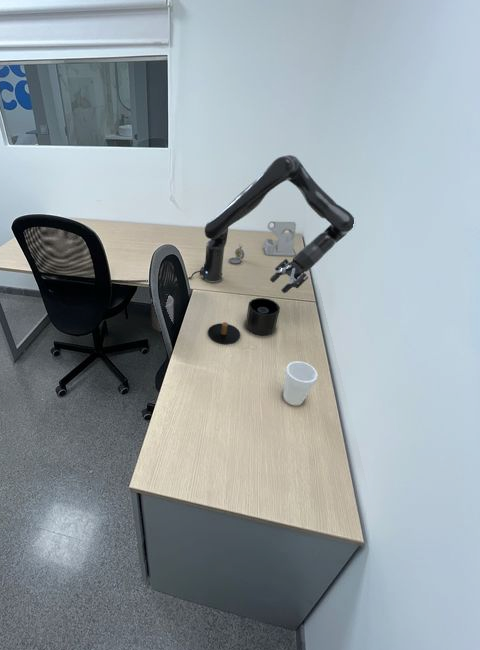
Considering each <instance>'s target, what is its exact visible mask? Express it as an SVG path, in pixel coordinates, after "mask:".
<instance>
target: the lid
mask: <svg viewBox="0 0 480 650" xmlns="http://www.w3.org/2000/svg"><path fill="white" fill-rule="evenodd" d="M207 336H208V338H209V339H210V340H211V341H213V342H214V343H216V344H220V345H225V346H226V345H232V344H235V343H236V342H238V341H239V340H240V338H241V332H240V331H239V329H238V328H237V327H236V326H234V325H232V324H229V323H228V322H226V321H224V322H222V323H221V322H219V323H215V324H212V325H211V326H210V327H209V328H208V329H207Z"/></svg>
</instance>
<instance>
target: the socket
mask: <svg viewBox="0 0 480 650" xmlns="http://www.w3.org/2000/svg"><path fill="white" fill-rule="evenodd" d="M257 312H258V313H262V314H268V313H269V310H268V309H267V308H265V307H259V308H258V310H257Z"/></svg>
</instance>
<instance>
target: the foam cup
mask: <svg viewBox="0 0 480 650" xmlns="http://www.w3.org/2000/svg"><path fill="white" fill-rule="evenodd" d="M318 376H319V374H318V372H317V369H315V368H314V366H313V365H311V364H310V363H307V362H304V361H300V360H296V361H291V362H290V363H288V364H287V366H286V368H285V371H284V384H283V385H284V386H283V400H284V401H285V402H286V403H288V404H289V405H292V406H300V405H301V404H302V405H303V402H304V401H305V399H306V397H307V396H308V394H309V393H310V391H311V389H312V388H313V386H314V385H315V384H316V383H317V382H316V381H317V378H318Z"/></svg>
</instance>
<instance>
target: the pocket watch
mask: <svg viewBox="0 0 480 650" xmlns="http://www.w3.org/2000/svg"><path fill="white" fill-rule="evenodd" d="M242 248H243V245H242V244H239V247H238V248H236V249H235V251H234V253H235V257H232V258H229V259H228V262H229V263H230V264H232V265H239V264H240V263H241V260H243V259H244V258H245V251H244V250H243V249H242Z"/></svg>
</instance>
